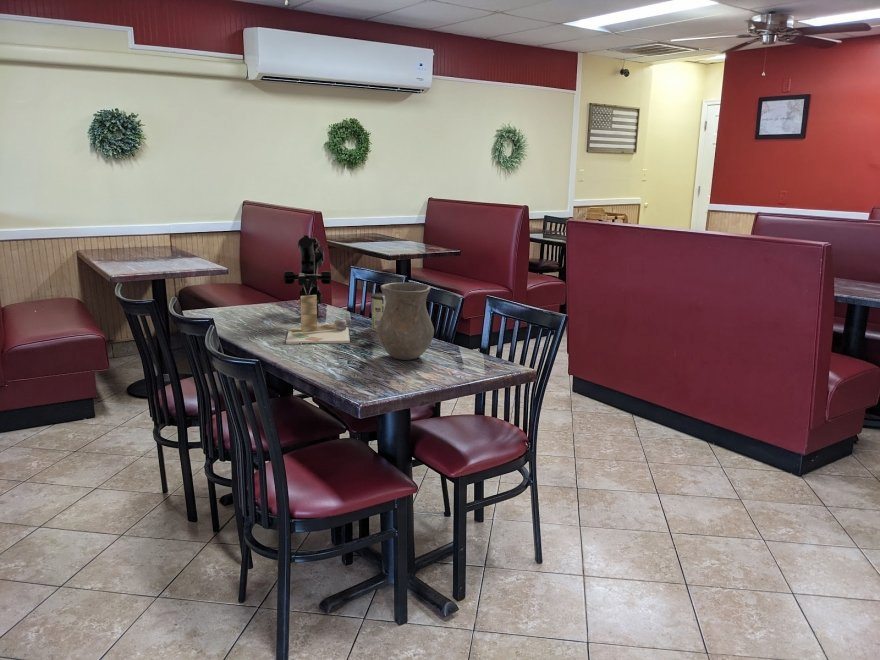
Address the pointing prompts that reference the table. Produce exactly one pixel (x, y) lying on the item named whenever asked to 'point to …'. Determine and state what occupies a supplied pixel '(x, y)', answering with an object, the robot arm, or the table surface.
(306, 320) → the lever
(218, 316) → the table surface
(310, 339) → the dial board
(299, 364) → the table surface
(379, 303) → the coffee can
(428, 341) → the vase
